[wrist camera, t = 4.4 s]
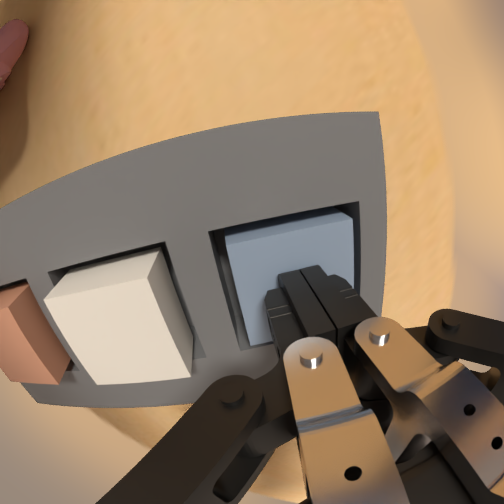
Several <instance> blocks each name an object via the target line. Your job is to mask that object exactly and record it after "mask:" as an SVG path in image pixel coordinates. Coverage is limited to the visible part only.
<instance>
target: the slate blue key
mask: <svg viewBox="0 0 504 504" xmlns="http://www.w3.org/2000/svg"><path fill="white" fill-rule="evenodd" d="M224 233H225V241H226V248H227V252H228V256H229V260H230V265H231V269H232V273H233V277H234V281H235V285H236V290H237V294H238V298H239V302H240V306H241V310H242V314H243V318H244V322H245V326H246V330H247V334H248V338H249V341H250V345H251V346H252V345H257V344H261V343H266V342H270V341H273V340H272V336H271V333H270V328H269V323H268V318H267V312H266V307H265V302H264V299H265V296H266V293H267V290H272V289H276V288H279V281H278V274H280V273H284V272H289V271H293V270H297V269H298V270H299V269H301V268H306V267H310V266H314V265H319V266H320V267H321V268H322V269H323V271H324V272H325V273H326V274H327V276H329V275H333V274H336V275H338V276H340V277H342V278H344V279H346V280H347V281H348V283H349V284H350V285H351V286H352V288H353V289H354V242H353V219H352V218H351V217H349V216H347V215H346V214H344V213H342V212H341V211H339V210H337V209H336V208H334V207H332V206H328V207H323V208H318V209H312V210H307V211H302V212H297V213H292V214H287V215H282V216H277V217H272V218H267V219H262V220H258V221H253V222H248V223H243V224H239V225H234V226H229V227H225V228H224Z"/></svg>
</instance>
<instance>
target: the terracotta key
mask: <svg viewBox="0 0 504 504" xmlns="http://www.w3.org/2000/svg"><path fill="white" fill-rule="evenodd" d="M70 360H71V357H70V356H69V354H68V353H67V351H66V350H65V348H64V347H63V345H62V344H61V342H60V341H59V339H58V337H57V336H56V334H55V332H54V331H53V329H52V327H51V326H50V324H49V322H48V320H47V319H46V317H45V315H44V313H43V311H42V309H41V308H40V306H39V304H38V302H37V300H36V298H35V296H34V294H33V292H32V290H31V288H30V286H29V283H28V281H27V282H24V283H20V284H17V285H13V286H10V287H7V288H3V289H0V368H1V369H2V371H3V372H4V373H5V375H6V376H7V377H8V378H9V380H10V381H13V382H23V383H36V384H55V385H59V383H60V381H61V379H62V377H63V375H64V372H65V370H66V368H67V366H68V364H69V362H70Z"/></svg>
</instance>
